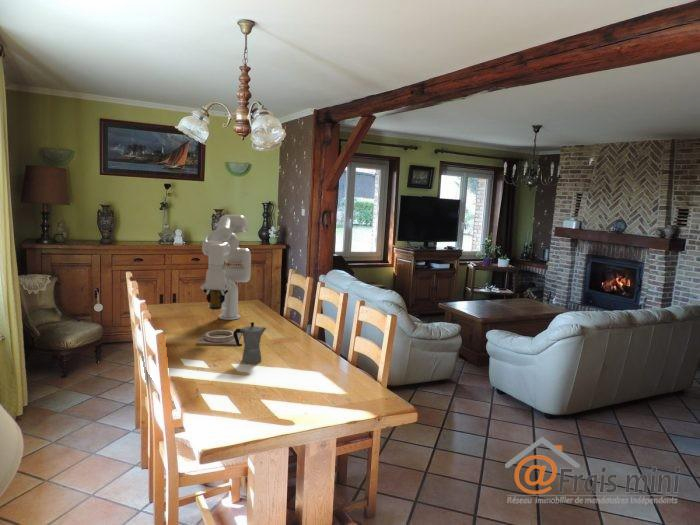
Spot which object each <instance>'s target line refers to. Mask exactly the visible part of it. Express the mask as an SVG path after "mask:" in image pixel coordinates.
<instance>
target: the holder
mask: <svg viewBox="0 0 700 525" xmlns="http://www.w3.org/2000/svg"><path fill="white" fill-rule="evenodd" d="M233 333H234V331H232V330H229V329H228V330H227V329H215V330H210V331H204V332H203V333H202V334H201V335H200V337H199V338H198V339H197V341H196V342H195V345H196V346H229V347H231V346H233V347H235V346H236V347H238V346H237V344H236V341H235V338H234V336H233ZM237 335H238V340H239V341H240V340H241V338H242V337H243V333H237Z"/></svg>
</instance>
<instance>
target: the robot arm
mask: <svg viewBox="0 0 700 525" xmlns="http://www.w3.org/2000/svg"><path fill="white" fill-rule="evenodd" d="M249 229H250V223H249V220H248V219H247V218H246V216H244V215H241V214H223V215H222V216H221V217H220V218H219V221H218V224H217V228H216V229H214V230H212V231H210V232H209V233H207V235H205V237H204V239H203V242H202V245H201V246H202V247H201V251H202V253H203V255H205V256H208V268H207V270H206V275H205V282H204V283H203V284H201V286H200V289H201V291H203V293H204V294H205V295H206V301H207V303H209V304H210V290H221V293H222V295H221V303H222V307H224V308H226V309H221V313H220V314H219V315H218V318H219V319H221V320H224V321H233V320H238V319H241V314H239V313H238V312H239V288H238V286H237V284H236V283H247V282H249V281H250V279H251V276H252V275H251V269H252V267H251V266H252V254H251V251H250V249H249V248H247V247H246V248H245V247H239V243H240V242H239V241H240V240H239V237H238V235H237V234H247V233H248V232H249ZM225 263H226V264H234V265H225ZM237 264H238V265H237Z"/></svg>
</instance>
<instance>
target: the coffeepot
mask: <svg viewBox="0 0 700 525" xmlns="http://www.w3.org/2000/svg"><path fill="white" fill-rule="evenodd" d="M266 330H267V328H266V327H264V326H257V325H255V322H254V321H253V322H252V321H251V322H250V325H249V326H245V327H242V328H236V329H235V330H234V331H233V332H234V333H233V336H234V338H235V341H236V344H237V346H236V347H242V345H243V344H244V347H243V352H242V358H241V362H243V363H245V364H250V365H251V364H258V363H260V362H261V361H262V354H261V346H260V343H261V339H262V336H263V334H264V332H265V331H266ZM237 333H242V338H243V343H240V340H238V335H237Z"/></svg>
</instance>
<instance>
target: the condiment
mask: <svg viewBox="0 0 700 525" xmlns="http://www.w3.org/2000/svg"><path fill="white" fill-rule="evenodd" d="M221 295H222V293H221V290H210V302H209V305H208V306H206V307H207V309H210V310H212V311H218V310H220V311H221V310H222V309H226V308H224V307H222V303H221Z"/></svg>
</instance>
